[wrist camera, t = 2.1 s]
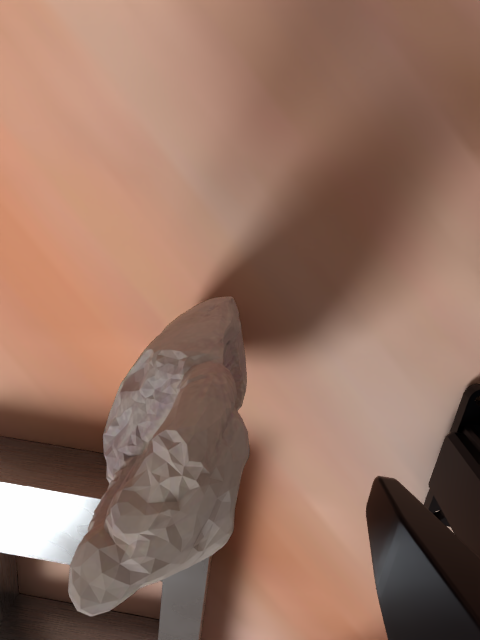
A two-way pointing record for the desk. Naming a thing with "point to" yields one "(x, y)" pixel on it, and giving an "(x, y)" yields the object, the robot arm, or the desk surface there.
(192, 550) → the pale grey rock
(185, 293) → the desk surface
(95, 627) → the socket block
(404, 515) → the robot arm
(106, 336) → the desk surface
